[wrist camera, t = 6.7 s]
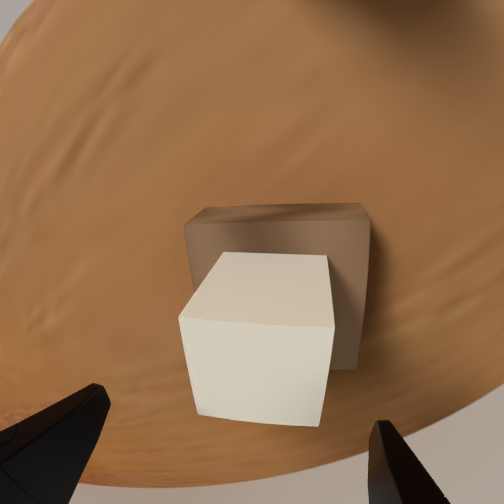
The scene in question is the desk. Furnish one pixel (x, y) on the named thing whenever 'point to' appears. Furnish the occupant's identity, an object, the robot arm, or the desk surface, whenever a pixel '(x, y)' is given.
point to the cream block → (261, 338)
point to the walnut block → (295, 242)
